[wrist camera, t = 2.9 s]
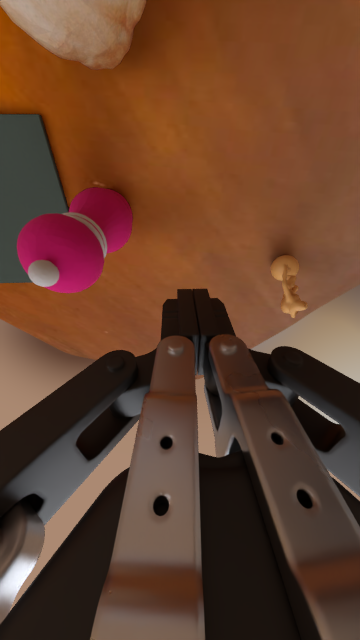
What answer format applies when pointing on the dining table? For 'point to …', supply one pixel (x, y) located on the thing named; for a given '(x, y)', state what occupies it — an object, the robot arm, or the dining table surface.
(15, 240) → the mat
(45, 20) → the ceramic vessel
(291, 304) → the figurine
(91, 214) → the pepper mill
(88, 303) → the dining table surface
